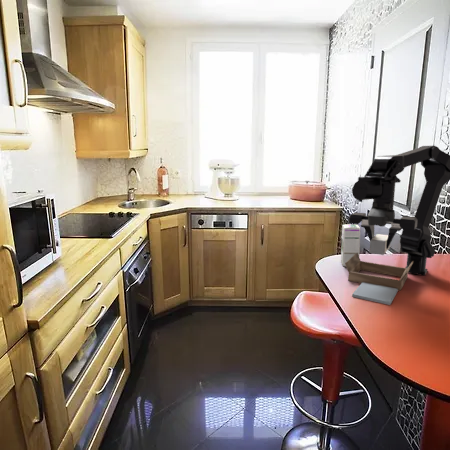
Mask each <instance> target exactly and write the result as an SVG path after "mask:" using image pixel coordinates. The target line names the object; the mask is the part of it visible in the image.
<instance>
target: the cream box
mask: <svg viewBox="0 0 450 450" xmlns="http://www.w3.org/2000/svg"><path fill="white" fill-rule="evenodd" d="M388 235H389V234H379V233H377V234H376V235H374V238H372V239H371V240H369V254H374V255H382V256H384V255H385V254H386V253H387V251H388V250H389V249H390V248H391V245H390V246H389V248H388V249H386V245H387V240H388Z"/></svg>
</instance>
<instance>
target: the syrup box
mask: <svg viewBox="0 0 450 450" xmlns="http://www.w3.org/2000/svg"><path fill="white" fill-rule="evenodd" d="M360 249H361V226H359V224H352V223H348V224H342V227H341V249H340V251H341V252H340V262H341V265H342V267H346V265H345V263H346V262H347V261H348V260H349V259H350V258H351V257H352V256H354V255H355V254H356V253H358V255H359V256H360V252H361V251H360Z"/></svg>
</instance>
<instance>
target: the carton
mask: <svg viewBox="0 0 450 450" xmlns="http://www.w3.org/2000/svg"><path fill="white" fill-rule="evenodd" d="M413 262H414V261H412V262H411V264H410V265H409V267H408V268H405V267H402V266H395V265H389V264H388V265H387V264H381V263H377V262H369V261H363V260H361V258H360V254H359V255H358V253H356V254H355V255H354V256H352V257H351V258H350V259H349V260H348V261H347V262H346V263H345V265H346V266H345V267H346V270H347V272H348V277H347V278H348V279H347V281H349V282H353V283H359V284H361V283H362V282H365V283H370V284H375V285H381V286H386V287H391V288H396V289H398V291H401V290H402V289H403V287H404V285H405V283H406V281H407V279H408V275H409V273H408V271H409V269H410V268H411V266H412V264H413ZM360 271H365V272H372V273H377V274H384V275H388V276H395V277H398V278H400V279H395V278H390V277H389V278H388V277H383V276H378V275H372V274H367V273H361V272H360Z"/></svg>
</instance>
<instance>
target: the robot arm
mask: <svg viewBox="0 0 450 450" xmlns="http://www.w3.org/2000/svg"><path fill="white" fill-rule="evenodd" d="M418 163H420V165H421V167H423V169H424V171H423V175H424V178H425V185H424V188H423V190H422V194H421V196H420V199H419V202H418V206H417V208H416V211H415V213H414V216H401V218H396V212H395V209H394V204H395V191H396V184H399V183H401V179H400V178H399V177H398V176H397V175H398V174H401V173H402V172H404V170H405V168H407V167H410V166H413V165H415V164H418ZM449 181H450V154H448V153H447V152H444V151H442V150H441V149H440V148H439V147H438V146H436V145H422V146H419V147H418V148H415V149H412V150H407V151H405V152H402V153H399V154H393V155H378V156H375V157H374V159H373V161H372V163H371V165H370V167H369V168H368V170H367V171H366V173H365V175H364V176H358V180H357V181H356V182H354V184H353V185H352V187H351V193H352V196H353V198H354V199H355V200H357V201H367V200H373V201H372V204H371V208H370V210H369V212H368V214H366V213H365V212H353V213H351V214H350V215H349V216H348V222H347V223H348V224H354V225H359V224H360V223H361V224H360V228H363V229H365V231H366V234H367V236H368V240H369V241H370V240H371V239H372V238H374V237H375V226H379V227H385V226H387V225H390V227H389V228H388V234H387V235H388V240H387V245H386V249H388V248H389V246H390V247H391V243H392V241H393V240H394V238H395V235H396V234H397V232H400V231H401V234H400V236H399V238H400V240H399V244H400V249H401V253H405V254H407V258H406V266H405V267H404V268H408V267H409V265H410V264H411V262H412V261H414V262H413V264H412V266H411V268H410V269H409V271H408V274H414V275H420V276H426V275H427V273H428V268H426V266H427V259H432V257H434V255H435V253H436V249H435V247H434V246H433V244H432V243H431V239H432V235H431V230H430V224H431V223H432V220H433V216H434V212H435V210H436V208H437V205H438V201H439V198H440V196H441V193H442V190H443V187H444V185H446V184H447V183H448V182H449ZM389 249H390V248H389ZM389 249H388V250H389Z"/></svg>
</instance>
